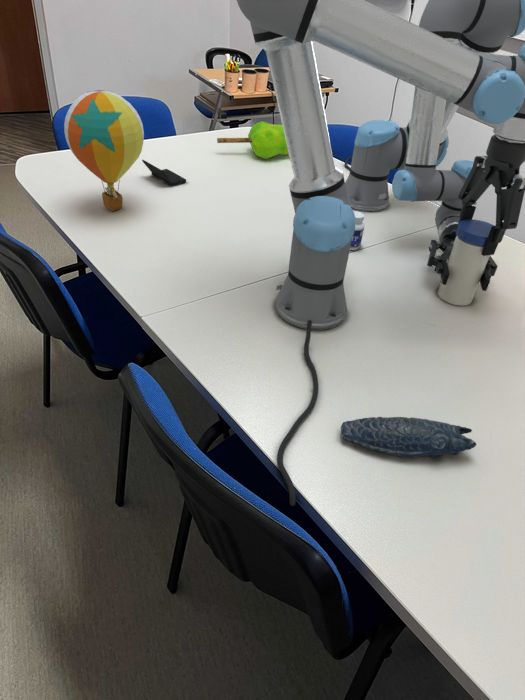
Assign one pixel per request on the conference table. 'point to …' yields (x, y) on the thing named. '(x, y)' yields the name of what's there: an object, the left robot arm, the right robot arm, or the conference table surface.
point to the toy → (105, 138)
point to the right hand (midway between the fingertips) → (466, 282)
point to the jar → (463, 273)
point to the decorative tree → (263, 140)
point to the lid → (474, 231)
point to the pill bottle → (357, 231)
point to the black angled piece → (165, 175)
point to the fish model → (407, 436)
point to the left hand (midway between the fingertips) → (473, 244)
